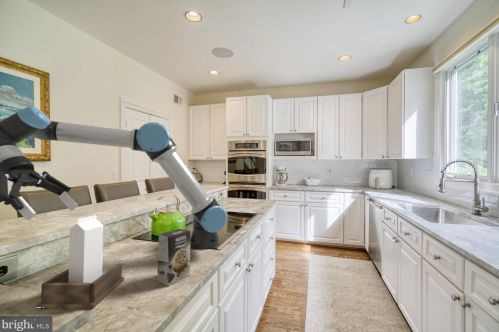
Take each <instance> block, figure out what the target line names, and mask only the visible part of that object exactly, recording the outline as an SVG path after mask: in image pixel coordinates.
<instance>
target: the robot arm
mask: <svg viewBox="0 0 499 332" xmlns="http://www.w3.org/2000/svg"><path fill="white" fill-rule="evenodd" d="M170 134H171V133H170V132H169V130H168V129H167V127H165V125H163V124H161V123H159V122H155V121H154V122H153V121H151V122H147V123H144V124H143V125H142V126H141V127H139V128H138V129H137V128H133V129H132V130H127V129H119V128H111V127H103V126H95V125H88V124H87V125H86V124H78V123H71V122H70V123H69V122H63V121H54V120H51V119H50V118H49V117H48V116H47V115H46V113H44V112H43V111H41V110H40V109H39V108H37V107H36V106H34V105H33V106H32V105H29V106H27V107H24V108H21V109H20V110H19V109H18V111H17V112H15V113H13V114H11V115H10V116H8V117H6V118H3V119H2V120H0V203H2V202H3V204H4V205H6V206H9V205H10V206H11V207H12V208H13V209H14V210H15V211H17V212H19V213H20V215H21V216H23V218H24V219H25V220H26V221H30V220H31V219H32V218H33V217H35V215H36V214H37V212H36V211H35V210H34V209H33V208H32V207H31V206H30V204H29V203H28V202H27V201H26V200H25V199H24V197H23V196H18V195H19V192H20V190H21V189H22V187H24V188H25V187H26V188H27V187H36V188H41V189H43V190H46V191H49V192H51V193H52V194H55V195H58V198H59V199H60V200H61V202H62V203H63V204H64V205H65V206H66V208H68V209H69V211H70V212H72V211H74V210H75V209H76V208H77V207H78V206H79V205H78V203H77V202H76V201H75V200H74V199H73V197H72V196H71V194H70V193H69V192H70V191H71V190H72V188H71V186H68V185H66V184H65V183H64V182H62V181H60V180H59V179H57V178H55V177H53V176H52V175H51V174H50V173H49V172H47V171H45V170H44V171H43V172H40V173H39V172H37V171H36V170H35V165H34V164H33V162H32V161H31V160H30V159H29V158H28V157H27V156H26V154H25V153H24V152H23V151H22V150H21V149H20V148H19V147H18V146H17V144H18V143H20V142H22V141H24V140H26V139H28V138H29V137H32V138H35V139H37V140H41V141H45V142H46V141H47V142H48V141H56V142H57V141H58V142H69V143H76V144H77V143H78V144H89V145H99V146H111V147H118V148H119V147H121V148H130V149H131V151H137V152H144V153H145V154H146V155H147V156H148V158H149V159H150V161H151V162H154V163H157V164H159V165H160V167H161V169H162V170H163V171H164V172H165V174H166V175H167V176H168V178H169V179H170V180H171V181H172V184H174V185H175V187H176V188H177V190H179V192H180V193H181V194H182V196H183V197H184V199H185V200H186V201H187V203H189V205H190V207H191V213H192V217H193V218H192V219H193V220H192V231H191V233H190V248H193V249H199V250H205V249H206V250H207V249H213V248H215V247H218V246H219V245H220V236H219V233H218V232H220V231H221V230H223V229H224V228H225V227H226V224H227V222H228V213H227V211H226V210H225V208H224V207H222V206H221V205H220V203H218V201H217V199H216V198H215V197H214V196H213V195H209V194H208V193H207V192H206V191H205V189H204V187H203V186H202V185H201V183H200V182H199V181H198V180H197V177H195V176H194V174H193V172H192V171H191V170H190V168H189V167H188V166H187V164H186V162H185V161H184V160H183V158H182V157H181V155H179V153H178V152H177V148H178V145H177V144H176V143H175V142H174V139H173V138H172V137H171V135H170ZM39 181H40V182H39ZM9 182H11V183H12V184H11V186H10V187H11V189H10V190H9V187H8V185H9Z"/></svg>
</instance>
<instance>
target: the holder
mask: <svg viewBox="0 0 499 332" xmlns="http://www.w3.org/2000/svg"><path fill="white" fill-rule="evenodd" d="M122 274H123V263H122V262H118V263H116V265H114V266H113V267H111V268H110V269H109V270H108V271H106V272H104V273H102V276H100V277H99V278H98V279H96V280H95V281H94V282H92V283H68V282H69V268H68V269H66V270H63V271H62V272H59V273H58V274H57V275H54V276H53V277H52V278H49V279H48V280H46V281H44V282H43V283H41V290H40V291H41V293H40V295H41V296H40V298H41V299H40V302H38V303H36V308H37V307H41V308H43V307H44V308H76V309H75V310H87V309H88V310H89V309H91V310H92V309H94V308H96V307H97V306H98V305H99V304H101V302H102V301H103V300H104V299H105V298H106V297H108V296H109V295H110V294H111V293H112V292H113V291H114V290H116V289H117V288H118V287H119V286H120V285H121V284H122V283H123V282H124V281H125V277H124V276H123V275H122Z"/></svg>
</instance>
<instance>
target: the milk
mask: <svg viewBox="0 0 499 332" xmlns="http://www.w3.org/2000/svg"><path fill="white" fill-rule="evenodd" d="M97 218H98V216H97V214H94V215H90V216H84V217H80V218H79V217H78V218H77V219H76V224H74V226H72V227H70V228H69V249H68V252H69V253H68V256H69V257H68V269H69V282H68V283H92V282H94V281H95V280H96V279H98V278H99V277H100V276H102V275H103V262H104V261H103V260H104V259H103V257H104V255H103V253H104V252H103V251H104V224H102V223H101V222H100V221H99V220H98V219H97Z"/></svg>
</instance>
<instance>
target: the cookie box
mask: <svg viewBox="0 0 499 332" xmlns="http://www.w3.org/2000/svg"><path fill="white" fill-rule="evenodd" d="M191 233H192V231H191V230H189V229H183V228H176V229H174V230H169V231H165V232H161V233H158V251H157V282H158V283H161V284H163V285H165V286H167V287H171V286H172V285H175V284H176V283H178V282H179V281H182V280H183V279H185V278H187V277H189V276H190V274H191V273H190V272H191V271H190V270H191V268H190V267H191V264H190V263H191V247H190V237H191Z"/></svg>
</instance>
